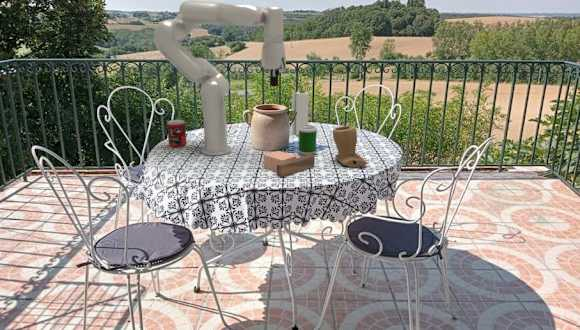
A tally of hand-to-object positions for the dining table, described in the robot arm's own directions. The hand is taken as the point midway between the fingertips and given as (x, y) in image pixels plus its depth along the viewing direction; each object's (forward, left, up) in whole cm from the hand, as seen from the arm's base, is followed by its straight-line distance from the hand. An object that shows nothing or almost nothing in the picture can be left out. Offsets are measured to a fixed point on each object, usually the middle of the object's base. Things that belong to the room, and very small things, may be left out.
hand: (274, 85), depth 183 cm
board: (+22, -10, -29) cm, 38 cm away
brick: (+15, -12, -29) cm, 35 cm away
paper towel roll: (-14, +32, -29) cm, 46 cm away
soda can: (+10, +10, -29) cm, 33 cm away
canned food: (-41, -22, -29) cm, 55 cm away
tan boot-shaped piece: (+30, +12, -29) cm, 44 cm away
